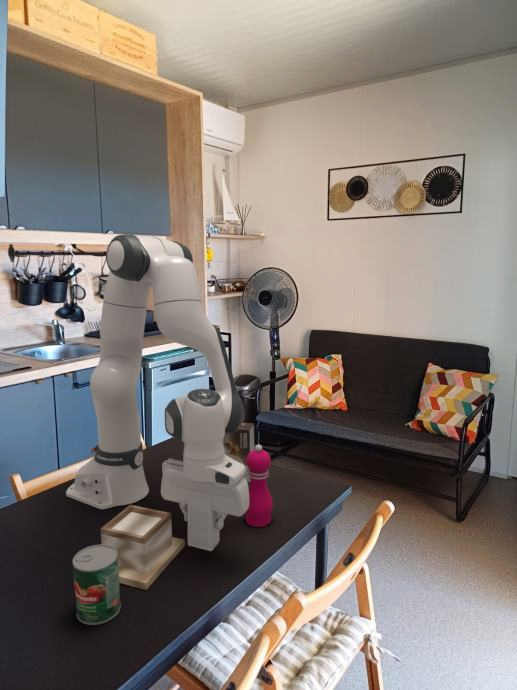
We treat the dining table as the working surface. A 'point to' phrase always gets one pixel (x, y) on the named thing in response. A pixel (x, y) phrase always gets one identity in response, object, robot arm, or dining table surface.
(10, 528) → the dining table surface
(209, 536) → the skincare box
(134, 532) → the display stand
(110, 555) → the canned tomato
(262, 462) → the pepper mill
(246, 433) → the coffee box
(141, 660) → the dining table surface
